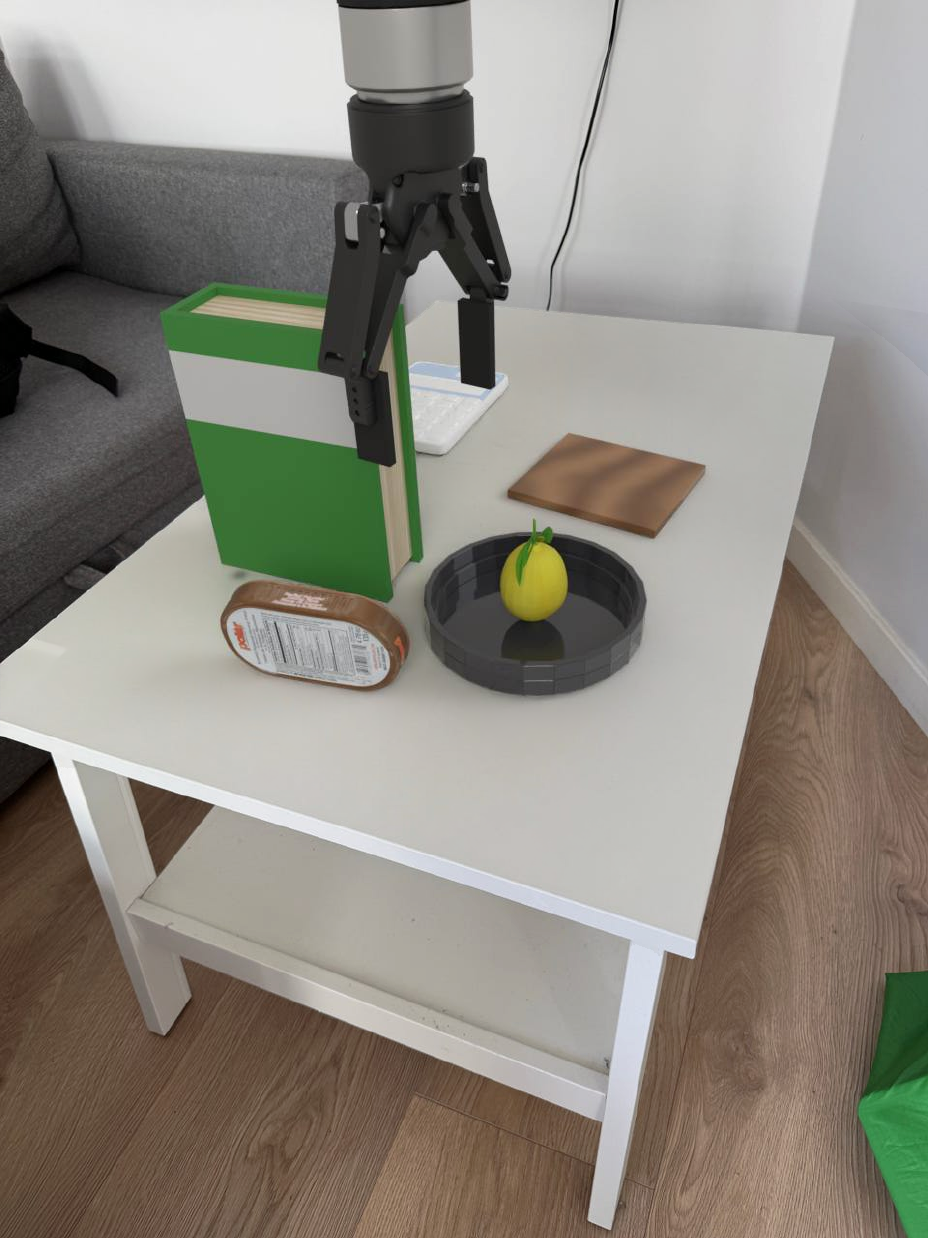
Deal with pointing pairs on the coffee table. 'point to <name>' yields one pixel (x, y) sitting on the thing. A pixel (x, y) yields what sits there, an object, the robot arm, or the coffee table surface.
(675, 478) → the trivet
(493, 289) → the robot arm
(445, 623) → the pan
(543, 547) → the lemon
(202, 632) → the coffee table surface
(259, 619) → the tin
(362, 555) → the hardback book
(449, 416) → the calculator
